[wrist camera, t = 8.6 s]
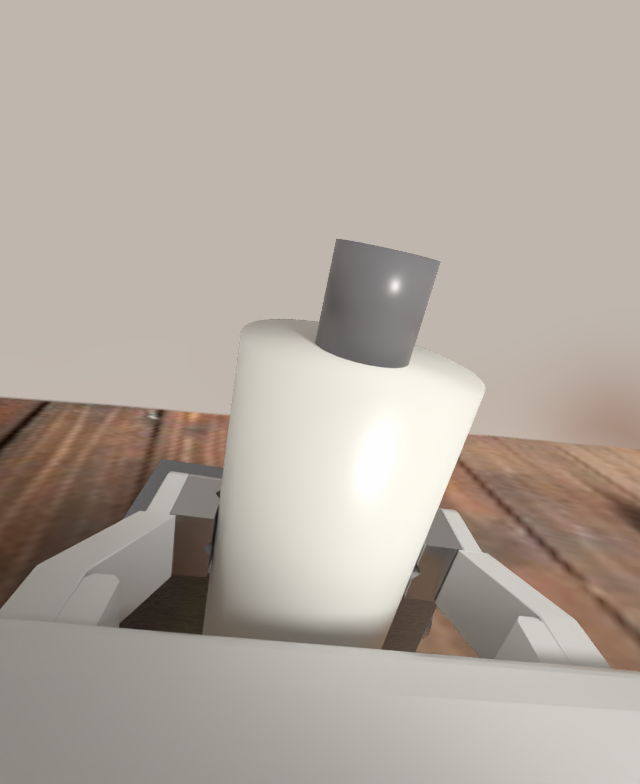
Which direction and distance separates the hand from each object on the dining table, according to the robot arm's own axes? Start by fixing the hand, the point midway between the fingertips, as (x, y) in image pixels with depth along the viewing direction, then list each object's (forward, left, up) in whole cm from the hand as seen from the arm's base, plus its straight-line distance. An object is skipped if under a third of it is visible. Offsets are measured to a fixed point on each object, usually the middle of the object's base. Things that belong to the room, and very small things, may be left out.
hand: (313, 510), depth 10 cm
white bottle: (0, -1, -7) cm, 7 cm away
